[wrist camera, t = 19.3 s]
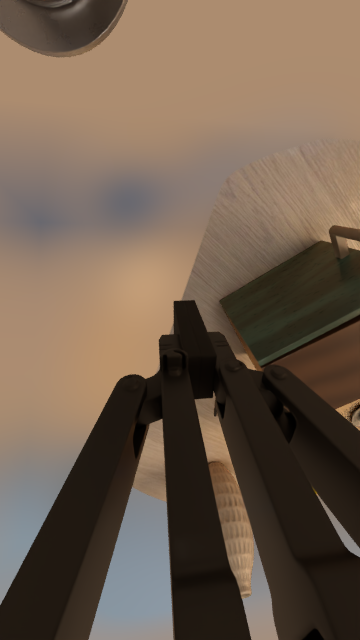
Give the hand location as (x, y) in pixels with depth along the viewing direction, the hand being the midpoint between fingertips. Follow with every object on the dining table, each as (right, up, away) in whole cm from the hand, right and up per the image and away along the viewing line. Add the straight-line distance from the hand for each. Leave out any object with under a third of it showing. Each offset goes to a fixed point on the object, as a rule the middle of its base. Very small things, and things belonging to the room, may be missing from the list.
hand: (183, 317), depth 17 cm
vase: (+11, -49, +60) cm, 78 cm away
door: (+16, +11, +28) cm, 34 cm away
